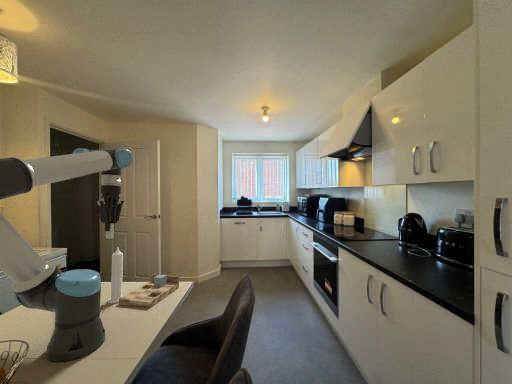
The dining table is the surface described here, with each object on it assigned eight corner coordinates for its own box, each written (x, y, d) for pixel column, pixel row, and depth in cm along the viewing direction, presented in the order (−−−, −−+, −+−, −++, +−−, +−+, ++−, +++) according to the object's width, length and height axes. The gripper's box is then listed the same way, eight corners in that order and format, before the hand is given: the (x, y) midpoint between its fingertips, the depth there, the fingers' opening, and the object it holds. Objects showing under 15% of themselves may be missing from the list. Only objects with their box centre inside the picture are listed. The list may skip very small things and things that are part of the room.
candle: (119, 303, 105) (120, 248, 106) (103, 303, 105) (105, 248, 106) (128, 297, 112) (129, 245, 113) (113, 296, 112) (115, 245, 113)
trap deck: (149, 308, 101) (150, 294, 101) (118, 304, 104) (119, 291, 104) (178, 287, 125) (179, 276, 125) (152, 285, 128) (152, 274, 128)
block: (161, 286, 119) (161, 277, 119) (154, 285, 120) (154, 277, 120) (166, 283, 123) (166, 275, 124) (159, 282, 124) (159, 274, 124)
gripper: (105, 184, 95) (104, 241, 95) (129, 185, 108) (127, 236, 107) (90, 184, 97) (89, 240, 96) (115, 186, 110) (114, 235, 109)
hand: (109, 238), depth 102 cm, fingers closed
